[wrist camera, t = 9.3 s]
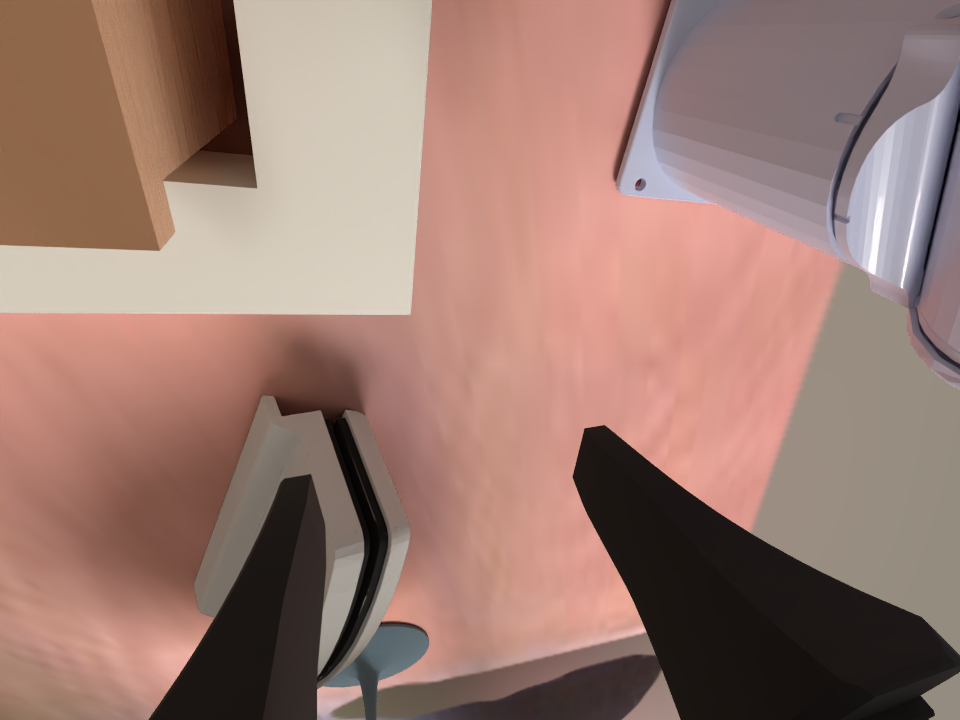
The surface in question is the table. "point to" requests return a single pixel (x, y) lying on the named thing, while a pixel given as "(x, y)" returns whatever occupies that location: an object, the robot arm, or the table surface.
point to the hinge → (346, 511)
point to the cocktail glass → (382, 660)
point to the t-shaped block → (104, 115)
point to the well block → (278, 183)
